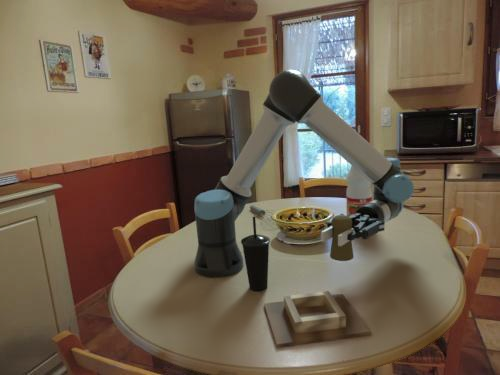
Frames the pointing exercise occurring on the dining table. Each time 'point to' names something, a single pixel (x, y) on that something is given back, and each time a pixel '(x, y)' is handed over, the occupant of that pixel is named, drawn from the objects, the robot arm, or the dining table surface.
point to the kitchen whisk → (260, 211)
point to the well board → (313, 319)
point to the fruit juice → (357, 191)
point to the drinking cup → (256, 259)
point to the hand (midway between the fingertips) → (330, 238)
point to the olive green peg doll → (337, 252)
